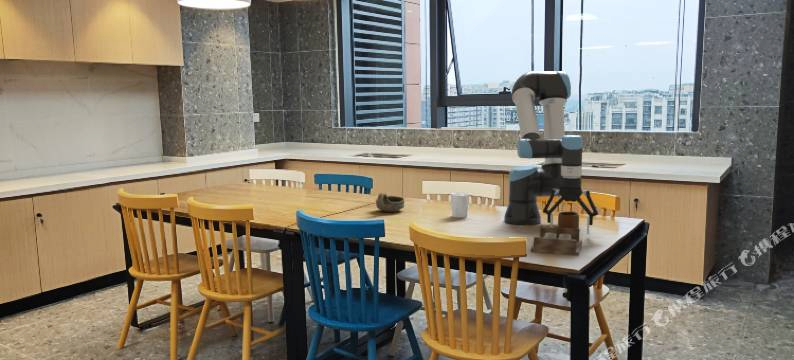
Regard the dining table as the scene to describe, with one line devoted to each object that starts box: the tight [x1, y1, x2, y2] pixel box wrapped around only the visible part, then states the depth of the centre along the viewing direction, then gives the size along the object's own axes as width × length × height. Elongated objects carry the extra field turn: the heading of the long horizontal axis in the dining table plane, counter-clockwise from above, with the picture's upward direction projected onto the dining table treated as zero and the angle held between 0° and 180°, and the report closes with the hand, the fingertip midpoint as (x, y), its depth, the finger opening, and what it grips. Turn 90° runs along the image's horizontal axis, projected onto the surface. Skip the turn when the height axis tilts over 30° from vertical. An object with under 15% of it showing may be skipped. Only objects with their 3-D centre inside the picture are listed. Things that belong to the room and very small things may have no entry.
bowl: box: [374, 192, 405, 213], centre depth 292 cm, size 14×18×10 cm
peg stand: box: [530, 226, 583, 256], centre depth 225 cm, size 16×19×5 cm
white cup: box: [450, 192, 470, 219], centre depth 280 cm, size 8×8×10 cm
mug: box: [557, 210, 580, 229], centre depth 239 cm, size 12×8×9 cm, turn 151°
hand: (569, 232), depth 240 cm, fingers open, 13 cm apart
